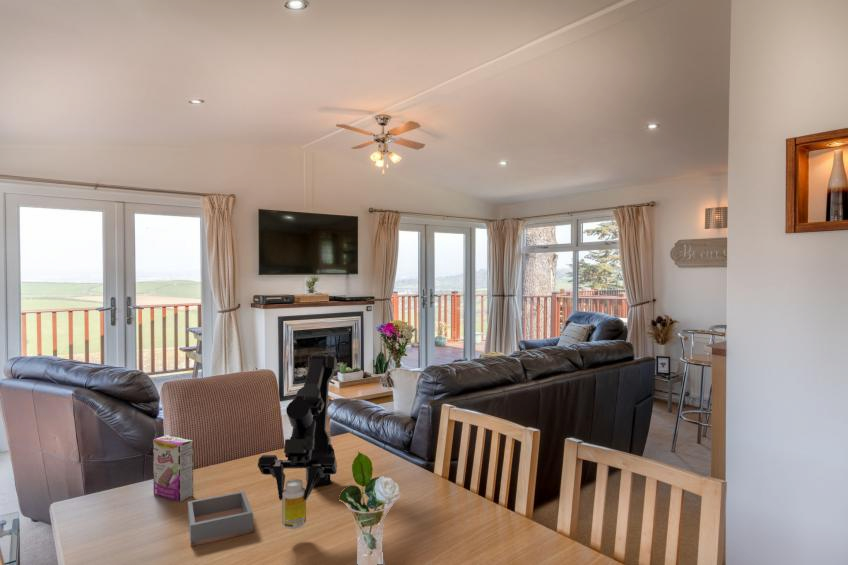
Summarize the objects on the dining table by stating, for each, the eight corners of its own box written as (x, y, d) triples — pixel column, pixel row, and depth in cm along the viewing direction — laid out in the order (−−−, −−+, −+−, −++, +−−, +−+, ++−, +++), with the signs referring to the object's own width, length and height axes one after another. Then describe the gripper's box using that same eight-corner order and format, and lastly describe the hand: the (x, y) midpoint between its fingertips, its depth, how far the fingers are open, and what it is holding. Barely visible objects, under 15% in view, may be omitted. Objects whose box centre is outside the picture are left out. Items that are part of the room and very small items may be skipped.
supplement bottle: (310, 525, 122) (310, 483, 122) (288, 532, 118) (288, 489, 118) (299, 516, 126) (299, 475, 126) (278, 523, 123) (278, 481, 122)
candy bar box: (152, 495, 146) (151, 439, 146) (167, 488, 151) (167, 434, 150) (179, 503, 142) (179, 444, 141) (194, 495, 146) (194, 439, 146)
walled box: (244, 509, 138) (244, 490, 138) (252, 532, 126) (252, 512, 126) (187, 520, 132) (187, 501, 131) (190, 546, 119) (190, 525, 119)
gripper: (259, 423, 125) (245, 486, 115) (335, 423, 126) (328, 486, 115) (268, 443, 133) (256, 504, 123) (339, 443, 134) (333, 504, 123)
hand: (292, 499), depth 121 cm, fingers closed on supplement bottle, 6 cm apart
